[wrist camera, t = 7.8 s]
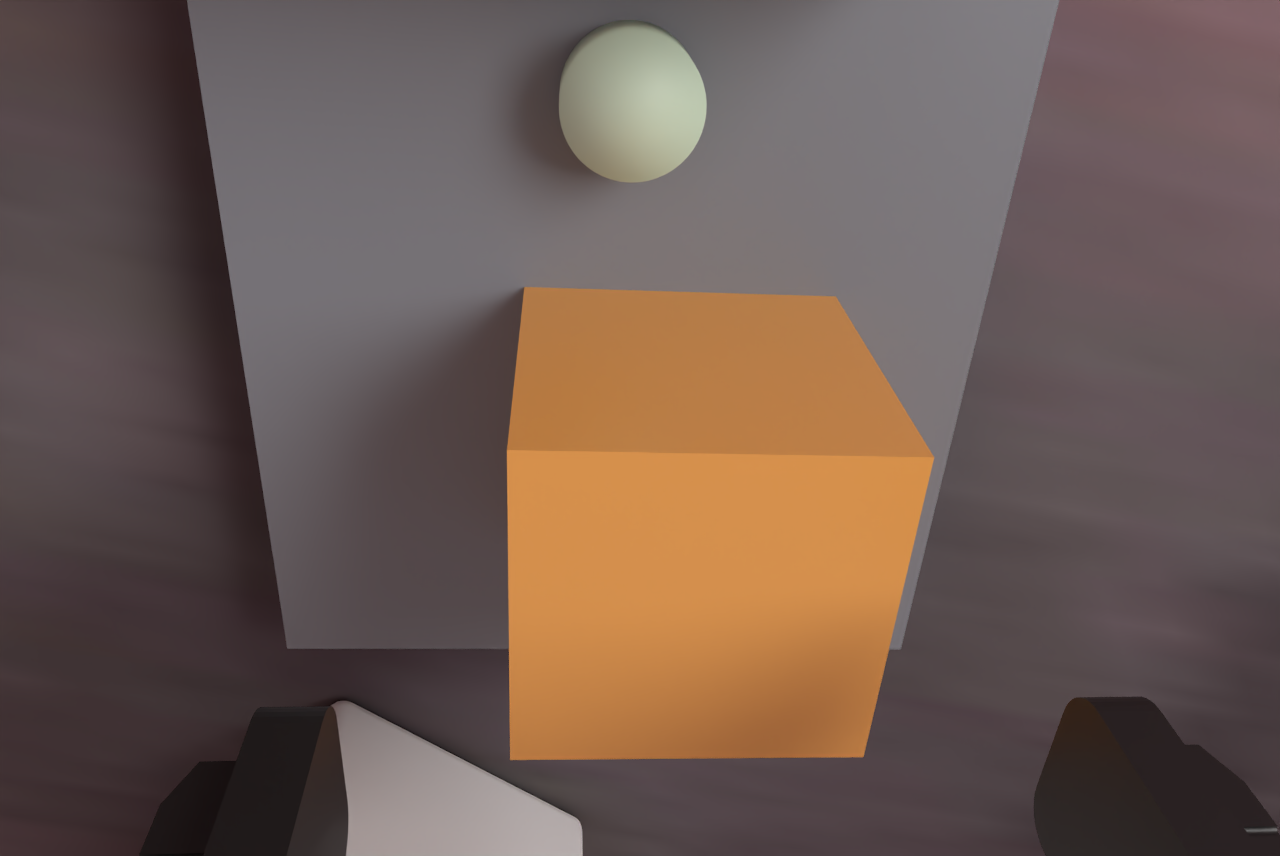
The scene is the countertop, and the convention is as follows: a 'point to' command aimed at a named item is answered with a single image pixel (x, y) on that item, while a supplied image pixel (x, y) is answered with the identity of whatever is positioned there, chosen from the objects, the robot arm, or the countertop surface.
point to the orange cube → (702, 526)
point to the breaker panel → (570, 237)
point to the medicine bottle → (437, 799)
